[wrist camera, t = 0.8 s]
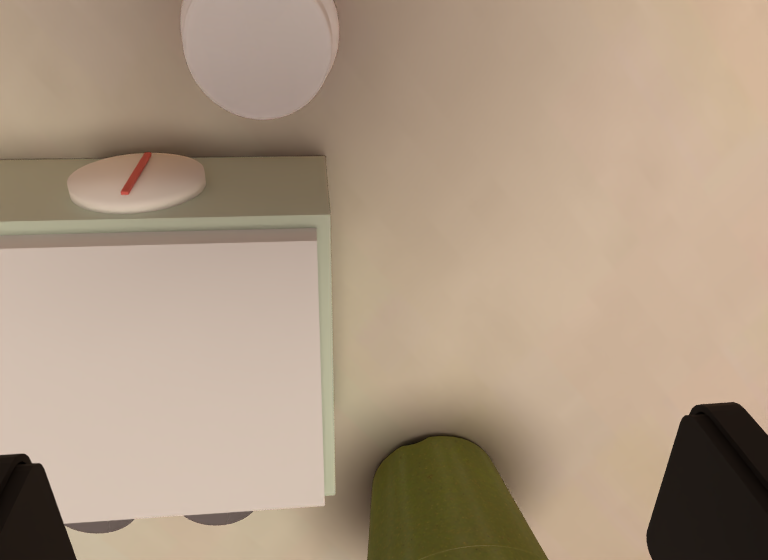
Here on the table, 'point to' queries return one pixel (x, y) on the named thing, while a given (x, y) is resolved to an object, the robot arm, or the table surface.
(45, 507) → the robot arm
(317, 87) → the pill bottle
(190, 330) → the scale
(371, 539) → the plant pot
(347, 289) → the table surface
